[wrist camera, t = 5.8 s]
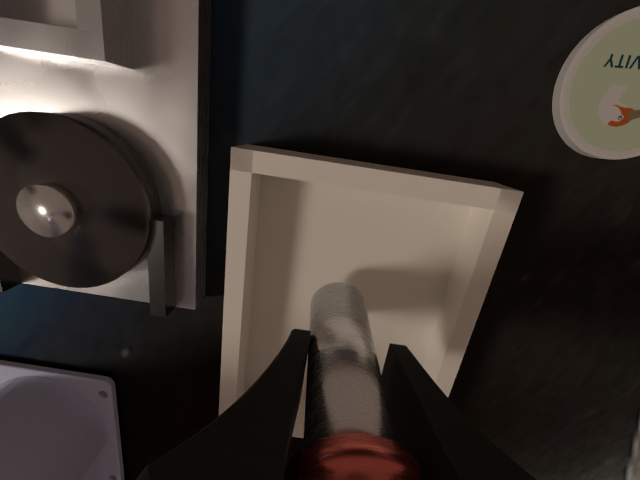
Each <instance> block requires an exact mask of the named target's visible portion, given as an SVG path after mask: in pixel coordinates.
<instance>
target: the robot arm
mask: <svg viewBox="0 0 640 480" xmlns="http://www.w3.org/2000/svg"><path fill="white" fill-rule="evenodd" d="M310 335H311V331H308V330H301V329H293V330H292V331H291V333H290V335H289V337H288V339H287V341H286V342H285V344H284V346H283V347H282V349H281V350H280V352H279V353H278V354H277V356H276V357H275V359H274V360H273V361H272V363H271V364H270V365H269V366H268V368H267V369H266V370H265V371H264V372H263V373H262V375H261V376H260V377H259V378H258V379H257V380H256V382H255V383H254V384H253V385H252V386H251V387H250V388H249V389H248V390H247V391H246V392H245V393H244V394H243V395H242V396H241V397H240V398H239V399H238V400H237V401H236V402H235V403H233V404H232V405H231V406H230V407H229V408H228V409H227V410H225V411H224V412H223V413H222V414H221V415H220V416H218V417H217V418H216V419H215V420H213V421H212V422H211V423H210V424H208V425H207V426H205V427H204V428H203V429H201V430H200V431H199V432H197V433H196V434H195V435H193V436H192V437H191V438H189V439H188V440H186V441H185V442H183V443H182V444H181V445H179V446H177V447H176V448H174V449H173V450H171V451H169V452H168V453H166V454H165V455H163V456H162V457H160V458H158V459H157V460H155V461H154V462H152V463H150V464H149V465H147V466H146V467H145V469H144V470H143V471H142V472H141V474H140V475H139V476H138V478H137V479H136V480H282V478H283V473H284V468H285V463H286V459H287V455H288V451H289V446H290V442H291V438H292V434H293V430H294V425H295V421H296V417H297V413H298V408H299V404H300V399H301V393H302V387H303V381H304V374H305V368H306V362H307V356H308V350H309V343H310ZM381 376H382V381H383V385H384V389H385V394H386V398H387V403H388V407H389V412H390V416H391V421H392V425H393V430H394V434H395V438H396V443H398V444H400V445H402V446H403V447H405V448H406V449H407V450H408V451H409V452H411V453H412V455H413V456H414V457H415V458H416V460H417V462H418V464H419V467H420V470H421V474H422V477H423V480H536V479H535V478H534V477H532V476H531V475H530V474H528V473H527V472H526V471H525V470H523V469H522V468H521V467H520V466H519V465H517V464H516V463H515V462H514V461H513V460H512V459H510V458H509V457H508V456H507V455H506V454H504V453H503V452H502V451H501V450H500V449H499V448H498V447H496V446H495V445H494V444H493V443H492V442H491V441H490V440H489V439H488V438H487V437H486V436H485V435H484V434H482V433H481V432H480V431H479V430H478V429H477V428H476V427H475V426H474V425H473V424H472V423H471V422H470V421H469V420H468V419H467V418H466V417H465V416H464V415H463V414H462V413H461V411H460V410H459V409H458V408H457V407H456V406H455V405H454V404H453V403H452V402H451V401H450V399H449V398H448V397H447V396H446V395H445V394H444V393H443V391H442V390H441V389H440V388H439V387H438V385H437V384H436V383H435V382H434V381H433V379H432V378H431V377H430V376H429V374H428V373H427V372H426V371H425V369H424V368H423V367H422V365H421V364H420V363H419V362H418V360H417V359H416V358H415V356H414V355H413V354H412V352H411V351H410V350H409V349H408V347H407V346H405V345H399V344H392V343H390V344H389V348H388V352H387V356H386V359H385V363H384V367H383V371H382V374H381ZM0 480H125V479H124V469H123V459H122V449H121V439H120V429H119V419H118V408H117V398H116V388H115V383H114V381H113V379H111V378H110V377H107V376H101V375H95V374H88V373H82V372H75V371H69V370H62V369H56V368H49V367H43V366H36V365H30V364H24V363H17V362H11V361H4V360H0Z"/></svg>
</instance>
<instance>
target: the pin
mask: <svg viewBox="0 0 640 480" xmlns="http://www.w3.org/2000/svg"><path fill="white" fill-rule="evenodd" d="M309 331H311V335H310V343H309V350H308V363H307V382H306V401H305V419H304V438H303V448H302V449H301V450H300V451H298V452H297V453H296V454H295V455H294V456H293V457H292V459H291V460H290V461H289V463H288V465H287V467H286V470H285V475H284V480H423V477H422V474H421V470H420V467H419V464H418V462H417V460H416V458H415V457H414V456H413V455H412V453H411V452H409V451H408V450H407V449H406V448H405V447H403V446H402V445H400V444H398V443H396V438H395V434H394V430H393V425H392V421H391V416H390V412H389V407H388V403H387V398H386V394H385V389H384V385H383V381H382V376H381V372H380V367H379V363H378V358H377V354H376V349H375V345H374V341H373V336H372V332H371V327H370V323H369V318H368V314H367V309H366V305H365V300H364V297H363V295H362V294H361V292H360V291H359V290H358V289H357V288H355V287H354V286H352V285H350V284H347V283H341V282H335V283H330V284H327V285H324V286H323V287H321V288H320V289H318V290H317V291H316V292H315V294H314V295H313V297H312V300H311V306H310V325H309Z"/></svg>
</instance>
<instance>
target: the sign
mask: <svg viewBox="0 0 640 480" xmlns="http://www.w3.org/2000/svg"><path fill="white" fill-rule="evenodd" d="M552 112H553V119H554V123H555V126H556V129H557V131H558V133H559V135H560V136H561V138H562V139H563V141H564V142H565V143H566V144H567V145H568V146H569V147H570V148H572V149H573V150H575V151H576V152H578V153H580V154H582V155H585V156H588V157H593V158H600V159H626V158H631V157H635V156H639V155H640V6H639V7H636V8H633V9H630V10H628V11H625V12H623V13H621V14H618V15H616V16H614V17H612V18H610V19H608V20H606V21H605V22H603V23H602V24H600V25H599V26H597V27H596V28H595V29H593V30H592V31H591V32H590V33H588V34H587V35H586V36H585V37H584V38H583V39H582V40H581V41H580V42H579V43H578V45H577V46H576V47H575V48H574V49H573V51H572V52H571V53H570V55H569V56H568V58H567V60H566V61H565V63H564V65H563V67H562V69H561V71H560V73H559V75H558V78H557V81H556V84H555V88H554V93H553V100H552Z"/></svg>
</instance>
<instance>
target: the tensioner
mask: <svg viewBox="0 0 640 480" xmlns="http://www.w3.org/2000/svg"><path fill="white" fill-rule="evenodd" d="M211 28H212V0H0V292H4V291H6V290H8V289H10V288H12V287H14V286H16V285H18V284H20V283H26V284H32V285H39V286H45V287H52V288H58V289H65V290H71V291H78V292H84V293H91V294H97V295H104V296H110V297H116V298H123V299H129V300H136V301H142V302H149V303H150V315H154V316H160V317H166V316H167V315H168V314H169V313H170V312H171V311H172V310H173V309H174V308H175V307H181V308H188V309H194V310H195V309H196V308H197V307H198V306H199V304H200V303H201V302H202V300H203V299H204V298H205V288H206V245H207V202H208V158H209V115H210V72H211Z"/></svg>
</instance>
